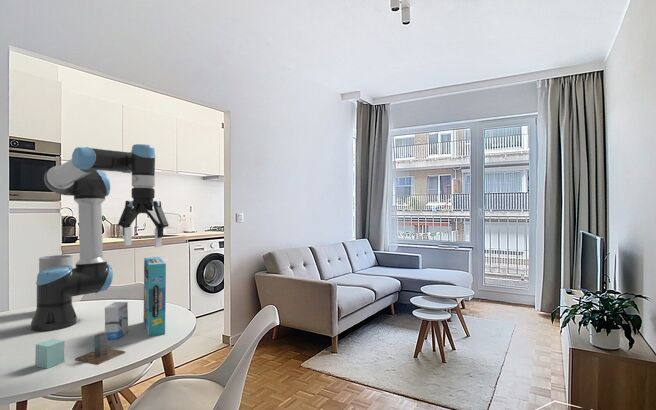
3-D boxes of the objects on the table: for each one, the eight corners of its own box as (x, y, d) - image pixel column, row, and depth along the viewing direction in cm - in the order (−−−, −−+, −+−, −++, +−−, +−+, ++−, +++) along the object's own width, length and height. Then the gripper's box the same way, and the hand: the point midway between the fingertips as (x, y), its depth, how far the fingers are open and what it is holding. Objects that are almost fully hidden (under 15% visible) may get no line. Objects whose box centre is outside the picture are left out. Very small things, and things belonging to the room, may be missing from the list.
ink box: (118, 339, 138) (118, 307, 138) (103, 339, 138) (103, 307, 138) (128, 331, 146) (128, 301, 146) (114, 332, 146) (115, 301, 146)
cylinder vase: (75, 306, 182) (76, 254, 182) (67, 313, 170) (67, 258, 170) (45, 308, 178) (45, 255, 178) (33, 316, 166) (34, 259, 166)
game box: (142, 322, 158) (143, 257, 158) (159, 319, 162) (159, 256, 162) (147, 337, 141) (147, 264, 141) (165, 334, 144) (166, 263, 144)
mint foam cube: (35, 365, 115) (35, 344, 115) (53, 359, 120) (53, 338, 120) (47, 368, 113) (47, 346, 113) (64, 361, 118) (64, 340, 118)
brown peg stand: (75, 359, 120) (75, 337, 120) (103, 348, 129) (103, 328, 129) (97, 364, 116) (98, 341, 116) (125, 352, 126) (125, 331, 126)
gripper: (107, 187, 137) (107, 245, 137) (164, 186, 130) (163, 248, 130) (124, 188, 144) (123, 243, 144) (179, 187, 137) (178, 246, 137)
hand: (142, 246), depth 137 cm, fingers open, 13 cm apart
